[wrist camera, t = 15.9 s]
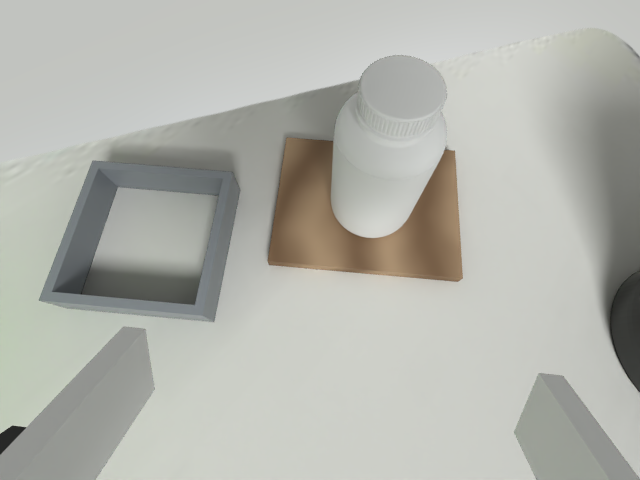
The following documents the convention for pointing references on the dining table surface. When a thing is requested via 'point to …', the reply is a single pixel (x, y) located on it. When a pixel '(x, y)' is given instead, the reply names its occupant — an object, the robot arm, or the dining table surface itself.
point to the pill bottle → (387, 145)
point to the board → (352, 250)
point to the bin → (90, 222)
